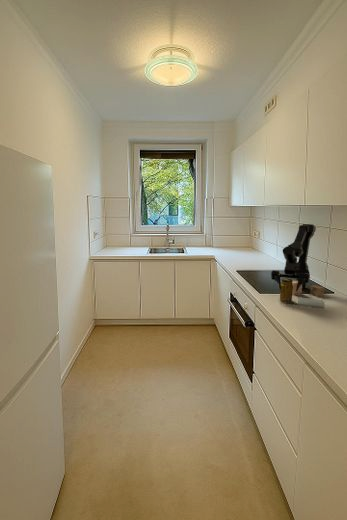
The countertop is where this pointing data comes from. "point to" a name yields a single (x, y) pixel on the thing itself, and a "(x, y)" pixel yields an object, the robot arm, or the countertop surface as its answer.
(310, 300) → the slate mat
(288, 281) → the condiment
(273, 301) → the countertop surface
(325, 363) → the countertop surface
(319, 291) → the walnut block
